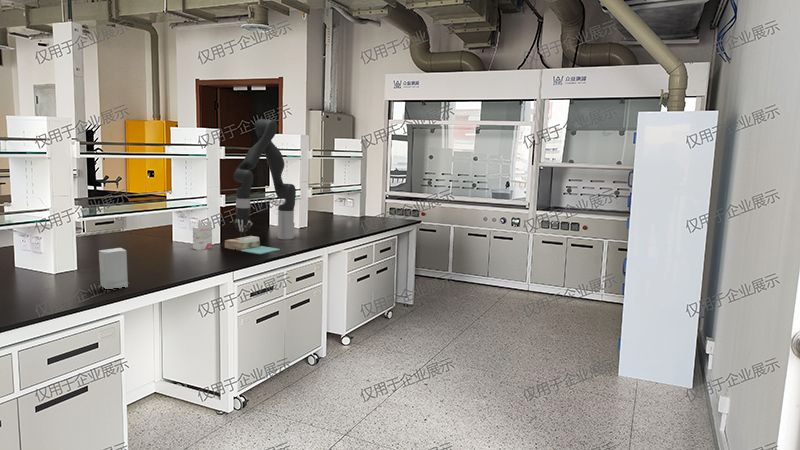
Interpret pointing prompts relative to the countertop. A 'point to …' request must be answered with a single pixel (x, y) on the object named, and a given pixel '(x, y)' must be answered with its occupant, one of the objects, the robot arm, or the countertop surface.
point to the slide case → (249, 239)
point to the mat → (260, 250)
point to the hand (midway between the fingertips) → (242, 238)
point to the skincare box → (113, 268)
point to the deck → (240, 244)
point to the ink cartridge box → (202, 236)
